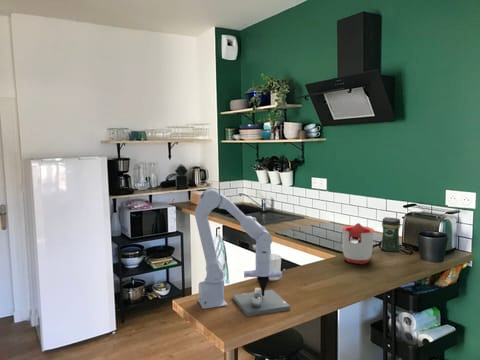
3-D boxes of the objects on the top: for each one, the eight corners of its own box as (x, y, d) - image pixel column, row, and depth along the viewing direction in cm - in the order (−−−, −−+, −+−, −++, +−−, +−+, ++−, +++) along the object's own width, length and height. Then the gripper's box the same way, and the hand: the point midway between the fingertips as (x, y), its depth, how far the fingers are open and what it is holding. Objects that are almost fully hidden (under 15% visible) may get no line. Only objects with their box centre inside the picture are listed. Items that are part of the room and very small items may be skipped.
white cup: (259, 277, 177) (260, 256, 176) (271, 273, 183) (271, 252, 182) (273, 282, 172) (273, 260, 171) (284, 278, 177) (284, 256, 176)
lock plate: (247, 316, 139) (247, 300, 138) (232, 298, 154) (232, 283, 154) (290, 309, 145) (290, 293, 144) (272, 293, 160) (272, 278, 159)
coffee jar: (400, 249, 223) (402, 217, 221) (397, 253, 217) (398, 220, 215) (383, 246, 229) (384, 215, 227) (379, 250, 222) (380, 218, 220)
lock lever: (261, 308, 142) (261, 299, 141) (251, 307, 142) (251, 299, 142) (262, 294, 154) (262, 286, 154) (253, 294, 154) (253, 286, 154)
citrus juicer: (337, 263, 198) (338, 225, 196) (345, 254, 213) (346, 218, 211) (369, 268, 190) (370, 228, 188) (375, 259, 206) (376, 221, 204)
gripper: (281, 257, 154) (280, 291, 156) (244, 257, 154) (244, 290, 156) (282, 263, 147) (282, 298, 149) (244, 263, 147) (244, 298, 149)
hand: (262, 294), depth 152 cm, fingers closed
